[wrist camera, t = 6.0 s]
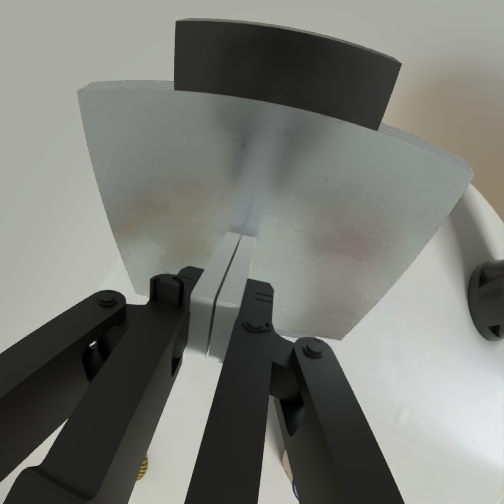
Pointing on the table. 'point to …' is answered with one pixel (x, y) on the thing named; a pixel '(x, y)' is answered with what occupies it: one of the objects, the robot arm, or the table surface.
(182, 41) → the lid
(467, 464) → the table surface
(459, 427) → the table surface
